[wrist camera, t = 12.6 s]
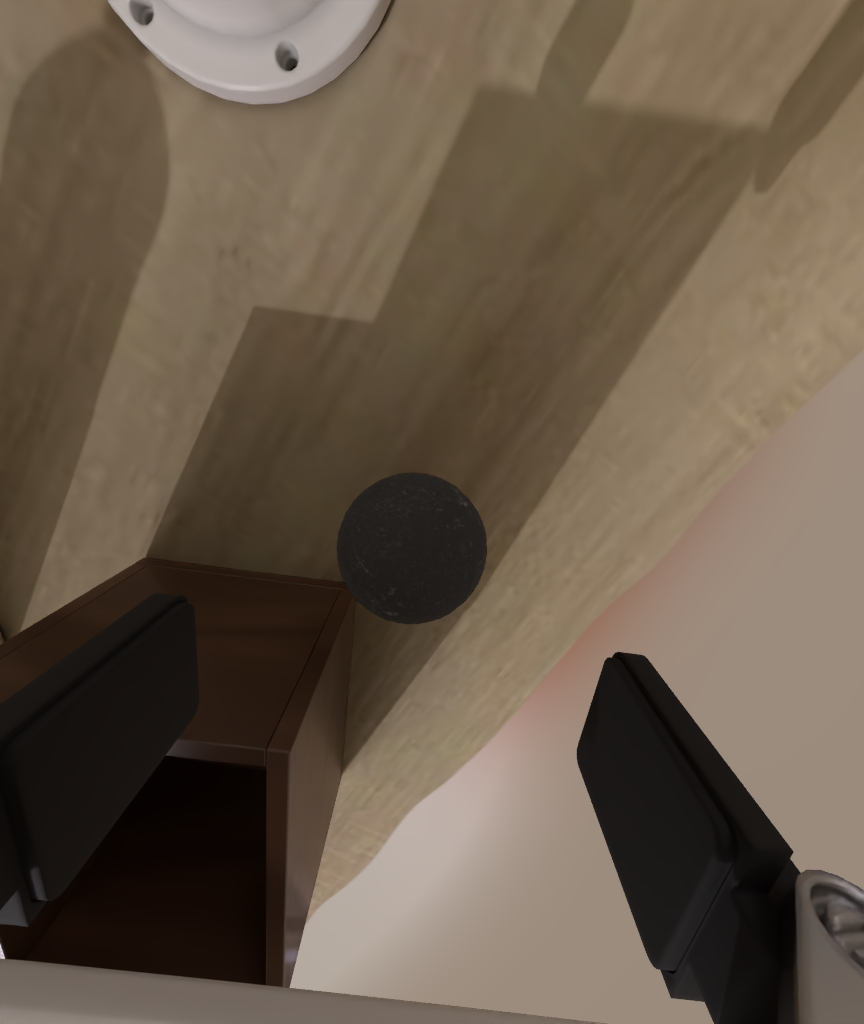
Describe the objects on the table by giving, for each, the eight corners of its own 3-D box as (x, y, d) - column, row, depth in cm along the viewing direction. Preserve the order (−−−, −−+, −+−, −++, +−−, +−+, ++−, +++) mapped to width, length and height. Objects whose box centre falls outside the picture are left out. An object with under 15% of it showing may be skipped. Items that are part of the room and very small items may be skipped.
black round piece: (456, 552, 23) (468, 674, 13) (361, 529, 23) (304, 637, 13) (484, 459, 21) (520, 523, 12) (381, 433, 21) (333, 476, 11)
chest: (143, 557, 23) (-106, 707, 13) (357, 584, 24) (290, 752, 13) (164, 755, 28) (-3, 985, 18) (341, 776, 29) (283, 1013, 18)
